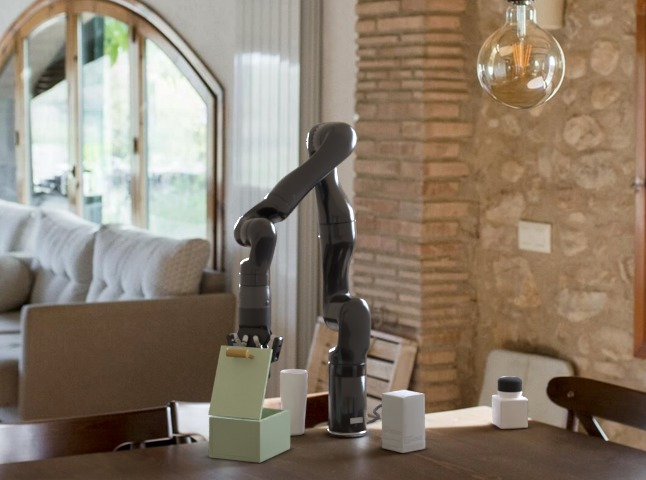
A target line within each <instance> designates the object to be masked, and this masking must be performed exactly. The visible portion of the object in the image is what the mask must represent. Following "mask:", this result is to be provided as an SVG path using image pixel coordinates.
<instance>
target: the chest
mask: <svg viewBox="0 0 646 480" xmlns="http://www.w3.org/2000/svg"><path fill="white" fill-rule="evenodd" d="M290 449H291V435H290V410H288V409H281V408H277V407H265V406H263V410H262V416H261V420H255V419H245V418H234V417H223V416H212V415H210V416H209V417H208V458H212V459H222V460H230V461H239V462H240V461H241V462H247V463H248V462H249V463H257V464H260V463H262V462H265V461H267V460H269V459H271V458H273V457H275V456H278V455H280V454H282V453H285V452H287V451H289V450H290Z"/></svg>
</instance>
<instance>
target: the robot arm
mask: <svg viewBox="0 0 646 480" xmlns="http://www.w3.org/2000/svg"><path fill="white" fill-rule="evenodd" d="M357 136H358V135H357V133H356V130H355V128H354V127H353V126H352V125H351V124H349V123H347V122H344V121H324V122H323V121H322V122H317V123H315V124H313V125H312V126H311V127H310V129H309V131H308V133H307V137H306V141H307V142H306V147H307V153H308V159H307V160H306V161H304V162H303V163H302V164H300V165H298V166H297V167H296V168H294V169H293V170H291V171H289V173H287V174H286V175H285V176H283V178H281V179H280V180H279V181H278V182H277V183H276V184H275V185H274V186H273V187H272V189H271V190H270V191H269V192H268V193H267V194H266V196H265V197H264V199H262V200H260V202H258V203H257V204H255V205H253V206H252V207H251V208H250V209H249V210H248V211H246V212H245V213H243V214H242V216H241V217H239V219H238V220H237V222H236V223H235V225H234V227H233V228H234V229H233V238H234V241H235V242H236V243H237V244H238V245H239V246H241V247H244V248H250V251H249V254H248V255H249V256H248V258H245V259H243V260H242V261H241V262H240V264H239V289H238V296H237V299H238V300H237V318H238V319H237V321H238V322H237V324H238V329H237V331H236V332H232V333H227V334H226V336H225V337H226V338H225V339H226V343H227V346H236V347H251V348H266V349H270V347H269V342H270V341H271V349H272V350H273V351H272V357H271V363H270V366H271V365H272V363H275V362H278V361H279V359H280V354H281V352H282V347H283V343H284V338H285V337H284V336H283V335H279V336H278V335H277V334H274V333H273V331H272V328H271V327H272V289H271V266H272V263H273V259H274V254H275V250H276V246H277V241H278V232H277V227H276V225H275V224H277V223H282V222H284V221H286V220H287V219H288V218H289V217H290V215H291V214H292V213H293V212H294V211H295V210H296V208H298V206H299V205H300V204H301V202H302V201H303V200H304V199H305V197H307V195H308V194H310V192H311V191H312V190H313V189H314V197H315V204H316V216H317V230H318V241H319V249H320V264H321V265H320V266H321V277H322V279H321V280H322V284H321V285H322V288H321V312H322V313H321V314H322V319H323V322H324V324H325V326H326V327H327V329H329V330H330V331H332V332H335V333H337V344H336V345H335V347H333V348H331V349H329V351H328V361H327V362H328V367H327V369H328V379H327V381H328V388H327V389H328V392H327V393H328V395H327V396H328V399H327V401H328V406H327V407H328V416H327V417H328V418H327V419H328V421H327V423H328V424H327V425H328V428H327V434H328V435H329V436H332V437H336V438H358V437H359V438H360V437H364V436H366V435H367V434H368V427H367V425H369V424H373V423H375V422H377V421H378V420H379V419H380V417H381V415H380V414H379V412H377V411H378V410H379V409H380V408H382V403H380V404H378V405H377V406H376V407H375V408H373V410H372V413H373V415H374V416H375V417H374V418H372V419H371V420H369V421H368V419H367V417H368V416H367V414H368V413H367V412H368V408H367V405H368V403H367V401H368V399H367V398H368V397H367V395H368V394H367V393H368V392H367V390H368V387H367V386H368V382H367V381H368V379H367V378H368V375H367V374H368V373H367V372H368V371H367V370H368V369H367V366H368V365H367V364H368V362H367V359H368V353H369V352H370V348H371V347H370V346H371V335H372V334H371V332H372V314H371V308H370V305H369V303H368V302H367V301H366V300H365V299H364V298H363V297H360V296H356V295H351V289H350V279H349V278H350V277H349V276H350V275H349V273H350V266H351V262H352V260H353V257H354V253H355V251H356V247H357V243H358V242H357V241H358V231H357V219H356V214H355V210H354V206H353V205H352V203H351V201H350V199H349V197H348V195H347V194H346V192H345V190H344V188H343V185H342V183H341V181H340V177H339V173H338V166H340V165H341V164H342V163H343V162H344V161H346V160H347V159H348V158H349V157H350V156H351V155H352V154H353V152H354V151H355V149H356V147H357V144H358V143H357V141H358V137H357ZM239 341H240V343H241V345H240V346H239V343H238V342H239ZM270 378H271V368H270V369H269V375H268V380H267V382H268V381H269V379H270Z"/></svg>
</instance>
